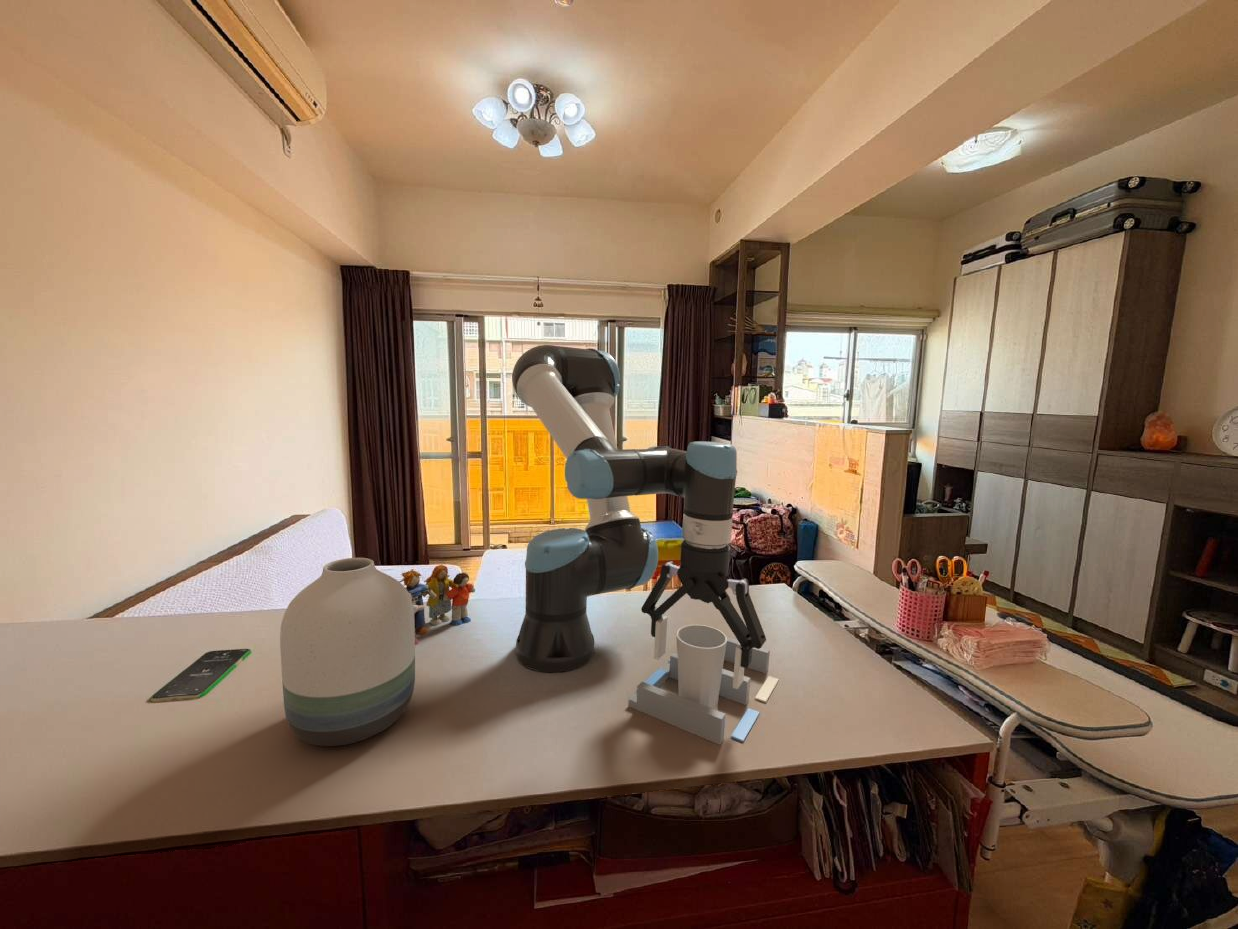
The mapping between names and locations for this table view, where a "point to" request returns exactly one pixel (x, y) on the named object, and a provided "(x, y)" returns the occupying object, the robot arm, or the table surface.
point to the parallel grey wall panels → (695, 714)
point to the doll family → (438, 597)
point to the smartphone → (201, 675)
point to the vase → (347, 654)
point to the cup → (700, 663)
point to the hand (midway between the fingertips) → (696, 669)
